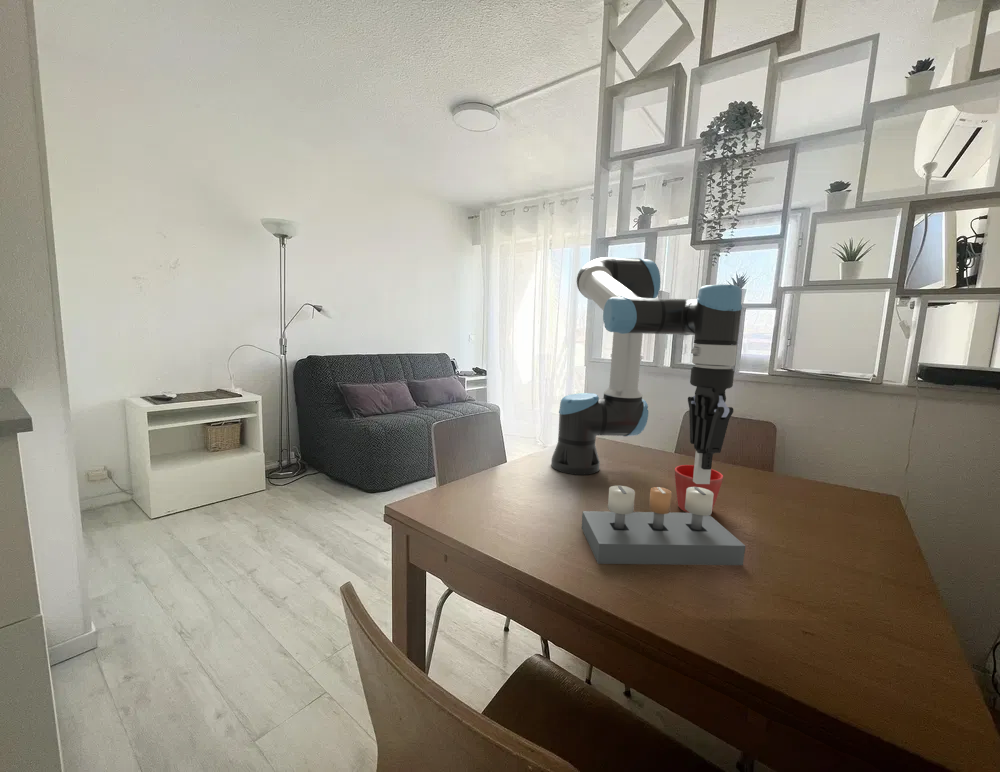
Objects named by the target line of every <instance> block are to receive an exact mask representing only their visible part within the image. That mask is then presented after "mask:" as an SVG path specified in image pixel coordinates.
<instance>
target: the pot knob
mask: <svg viewBox="0 0 1000 772" xmlns="http://www.w3.org/2000/svg"><path fill="white" fill-rule="evenodd" d="M649 492H650V493H649V503H648V506H649V507H648V509H649V510H650V512H654V517H653V527H654V528H655V529H663V523H664V514H668V513H669V512H671V503H672V493H673V492H672V491H671V490H670V489H668V488H665V487H660V486H656V487H655V486H654V487H651V488H650V491H649Z"/></svg>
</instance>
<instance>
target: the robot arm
mask: <svg viewBox="0 0 1000 772" xmlns="http://www.w3.org/2000/svg"><path fill="white" fill-rule="evenodd" d="M661 280H662V279H661V273H660V269H659V267H658V265H657V264H656V262H655V261H654V260H652V259H646V258H639V257H637V258H633V257H607V256H605V257H598V258H595V259H593V260H589V262H586V263H585V264H583V266H582V267H581V268H580V270H579V271H578V274H577V276H576V287H577V289H578V291H579V293H581V295H582V296H583V297H584V298H586V299H587V300H592V301H593V302H594V303H595V304H596V305H597V306H598V307H599V308H600V309H601V310H602V311H603V312H602V313H603V315H602V321H603V322H602V323H603V326H604V328H605V330H606V331H607V332H610V333H612V334H613V335H612V345H611V347H612V348H611V358H610V361H611V362H610V374H609V385H608V388H607V389H605V390H604V392H603V398H599V395H598V394H597V393H592V392H581V393H578V392H577V393H572V394H571V393H570V394H568V395H565V396H564V397H562V398H561V400H560V404H559V410H558V414H559V415H558V416H559V417H558V418H559V419H558V433H557V434H558V437H557V438H558V439H557V444H556V446H555V448H554V452H553V454H552V457H551V467H552V469H554V470H556V471H559V472H560V473H563V474H564V473H565V474H568V475H569V474H571V475H577V476H580V475H593V474H596V473H597V472H599V471H600V465H601V464H600V458H599V454H598V450H597V447H596V437H597V436H602V437H603V436H608V437H609V436H611V437H612V436H613V437H614V436H616V437H619V436H620V437H621V436H622V437H628V436H629V437H630V436H631V437H632V436H638V435H641V433H642V432H643V431H644V430H645V428H646V426H647V423H648V420H649V419H648V418H649V409H648V408H649V406H648V405H649V404H648V403H647V401H646V400H645V399H643V394H642V392H640V390H639V381H640V379H639V378H640V368H641V358H642V357H641V355H642V345H643V344H642V343H643V335H645V334H646V335H647V334H649V335H651V334H652V335H653V334H656V335H676V336H678V335H679V336H694V337H693V349H691V354H692V361H691V362H692V364H694V366H692V367H691V368H690V378H689V383H690V385H691V386H693V387H695V391H694V395H693V396H688V397H687V404H688V408H689V409H688V410H689V413H688V414H689V415H688V416H689V442H690V444H691V445H693V448H694V450H695V455H694V464H693V465H694V474H693V482H694V483H696V484H710V475H711V469H712V466H713V465H712V464H713V463H712V462H713V455H714V454H720V453H721V452H722V448H723V445H724V441H725V437H726V433H727V429H728V426H729V422H730V418H731V417H732V415H733V413H734V408H733V407H732V406H728V405H727V403H726V401H727V397H726V390H727V389H732V387H733V386H734V376H735V370H734V369H733V368H732V367H735V366H736V360H737V349H738V338H739V330H740V324H741V313H742V309H743V305H742V297H743V289H742V288H741V287H740V286H739V285H735V284H708V285H702V286H700V289H698V294H697V297H696V298H692V299H691V298H689V299H688V298H685V299H684V298H659V297H658V296H659V292H660V291H661V290H660V289H661V283H662V282H661ZM657 297H658V298H657Z"/></svg>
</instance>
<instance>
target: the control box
mask: <svg viewBox="0 0 1000 772" xmlns="http://www.w3.org/2000/svg"><path fill="white" fill-rule="evenodd" d="M581 517H582V518H581V530H582V533H583V534H584V536H585V539H586V541H587V543H588V546H589V547H590V550H591V552H592V554H593V556H594V558H595V560H596V561H595V562H596V563H597V564H598V565H599V564H606V565H607V564H608V565H609V564H610V565H615V564H617V565H677V566H680V565H682V566H683V565H691V566H692V565H693V566H695V565H696V566H704V565H705V566H744V561H745V554H746V553H745V552H746V551H745V550H746V545H745V544H744V543H743V542H742V541H741V540H739V539H738V537H736V536H735V535H733V534H732V533H731V532H730V530H728V529H726V528H725V527H724V526H723V525H722V524H721V523H719V522H718V520H716V519H715V518H714V517H712V516H711V515H708V516H703V520H702V529H701V530H695V529H693V528H691V521H692V513H687V512H673V511H672V512H671V511H670V512H669V513H668V514H664V523H663V529H655V528H654V527H653V517H654V512H653V511H633V513H631V514H625V526H624V528H623V529H618V528H616V527H614V522H615V513H614V512H612V511H610V510H609V511H608V510H607V511H599V510H598V511H597V510H595V511H591V510H582V515H581Z"/></svg>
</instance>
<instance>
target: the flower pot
mask: <svg viewBox="0 0 1000 772" xmlns="http://www.w3.org/2000/svg"><path fill="white" fill-rule="evenodd" d="M693 474H694V464H681V465H677V466H676V467H675V468H674V481H675V491H676V498H677V506H678V507H679V509H680V510H681V511H683V512H684V513H690V512H688V511H687V510H686V509H685V500H686V490H687V488H689V487H700V488H705V489H708V490H710V491H712V492H713V493H714V496H713V505H712V511H713V509H714V508H715V504H716V502H717V500H718V499H717V498H718V496H719V493H720V490H721V486H722V483H723V480H724V475H723V474H722V473H721V472H720V471H717V470H715V469H713V468H711V475H710V484H696V483H694V482H693Z"/></svg>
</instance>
